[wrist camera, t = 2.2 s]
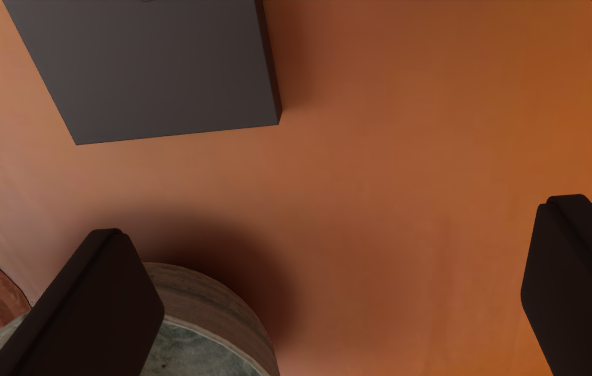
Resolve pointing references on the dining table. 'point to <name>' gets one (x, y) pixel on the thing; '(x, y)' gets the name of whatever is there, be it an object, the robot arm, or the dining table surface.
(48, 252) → the dining table surface
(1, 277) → the mug
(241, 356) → the bowl
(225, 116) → the black button base
